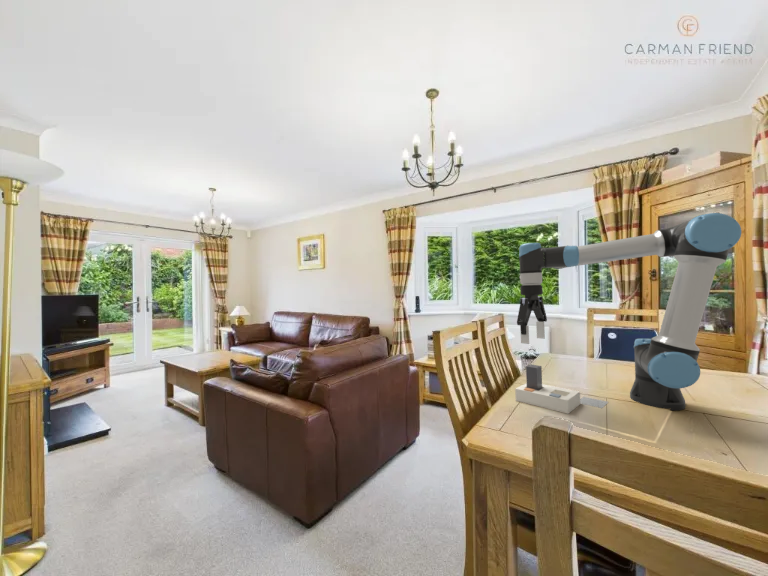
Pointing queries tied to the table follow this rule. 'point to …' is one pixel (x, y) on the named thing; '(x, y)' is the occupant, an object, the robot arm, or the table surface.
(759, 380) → the table surface
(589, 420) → the table surface
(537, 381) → the grey tall block
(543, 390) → the socket block
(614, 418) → the table surface
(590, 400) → the mat
